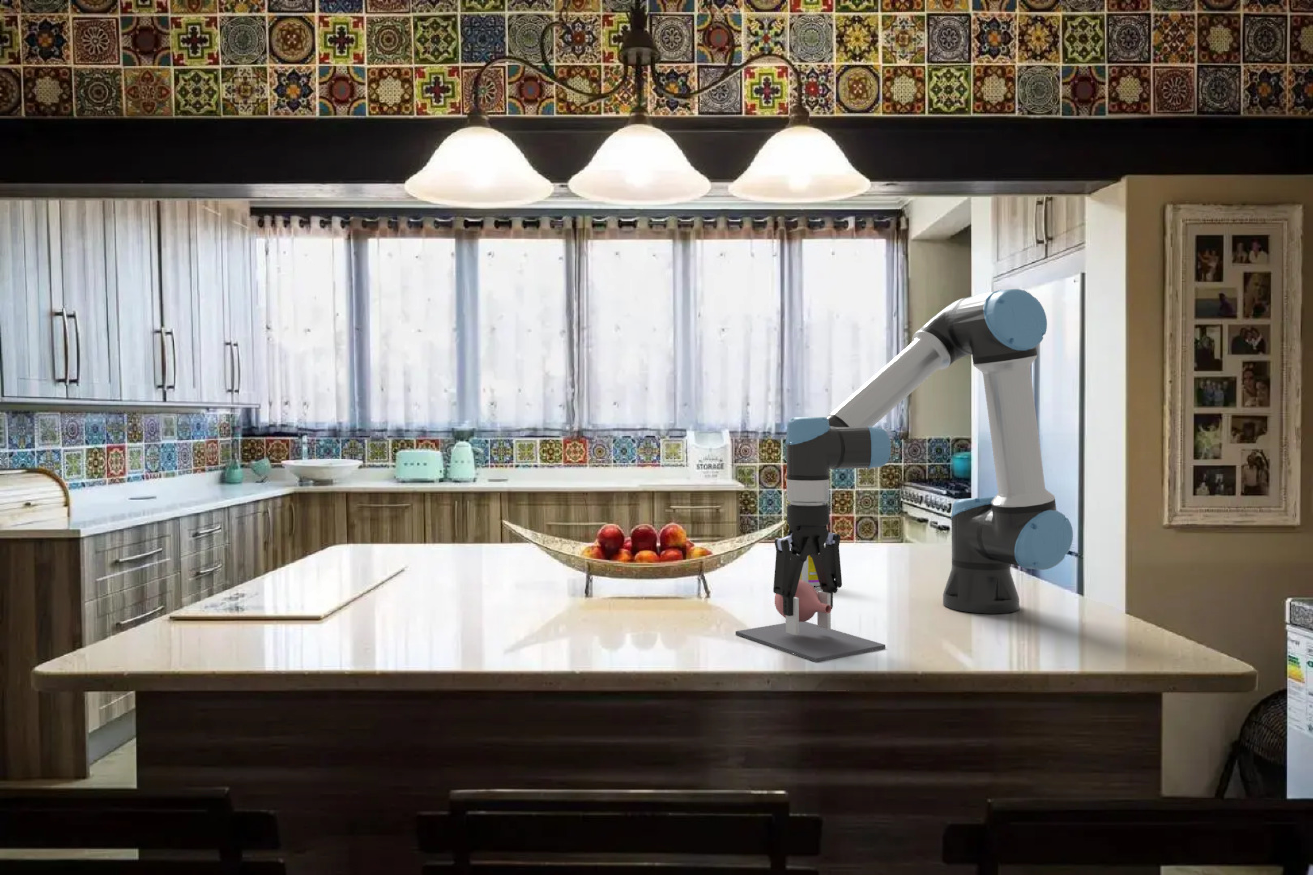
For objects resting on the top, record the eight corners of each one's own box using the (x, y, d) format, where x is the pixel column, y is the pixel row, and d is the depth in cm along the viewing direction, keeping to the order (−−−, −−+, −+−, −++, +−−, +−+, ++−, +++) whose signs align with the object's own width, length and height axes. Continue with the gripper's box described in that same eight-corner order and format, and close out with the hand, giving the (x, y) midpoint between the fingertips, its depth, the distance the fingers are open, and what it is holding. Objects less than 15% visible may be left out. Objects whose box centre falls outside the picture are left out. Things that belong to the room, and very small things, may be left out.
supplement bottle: (827, 583, 215) (827, 530, 214) (817, 588, 209) (816, 533, 209) (801, 581, 218) (801, 528, 218) (790, 585, 213) (790, 531, 212)
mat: (801, 623, 174) (801, 620, 174) (885, 648, 155) (885, 644, 155) (735, 634, 166) (735, 631, 166) (815, 662, 147) (815, 658, 147)
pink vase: (777, 626, 166) (821, 640, 155) (761, 593, 163) (805, 604, 153) (805, 601, 169) (850, 613, 159) (789, 568, 167) (834, 578, 157)
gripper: (834, 498, 168) (834, 619, 169) (751, 504, 158) (751, 633, 159) (863, 501, 162) (863, 627, 163) (778, 508, 152) (779, 642, 152)
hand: (808, 630), depth 161 cm, fingers closed on pink vase, 7 cm apart
